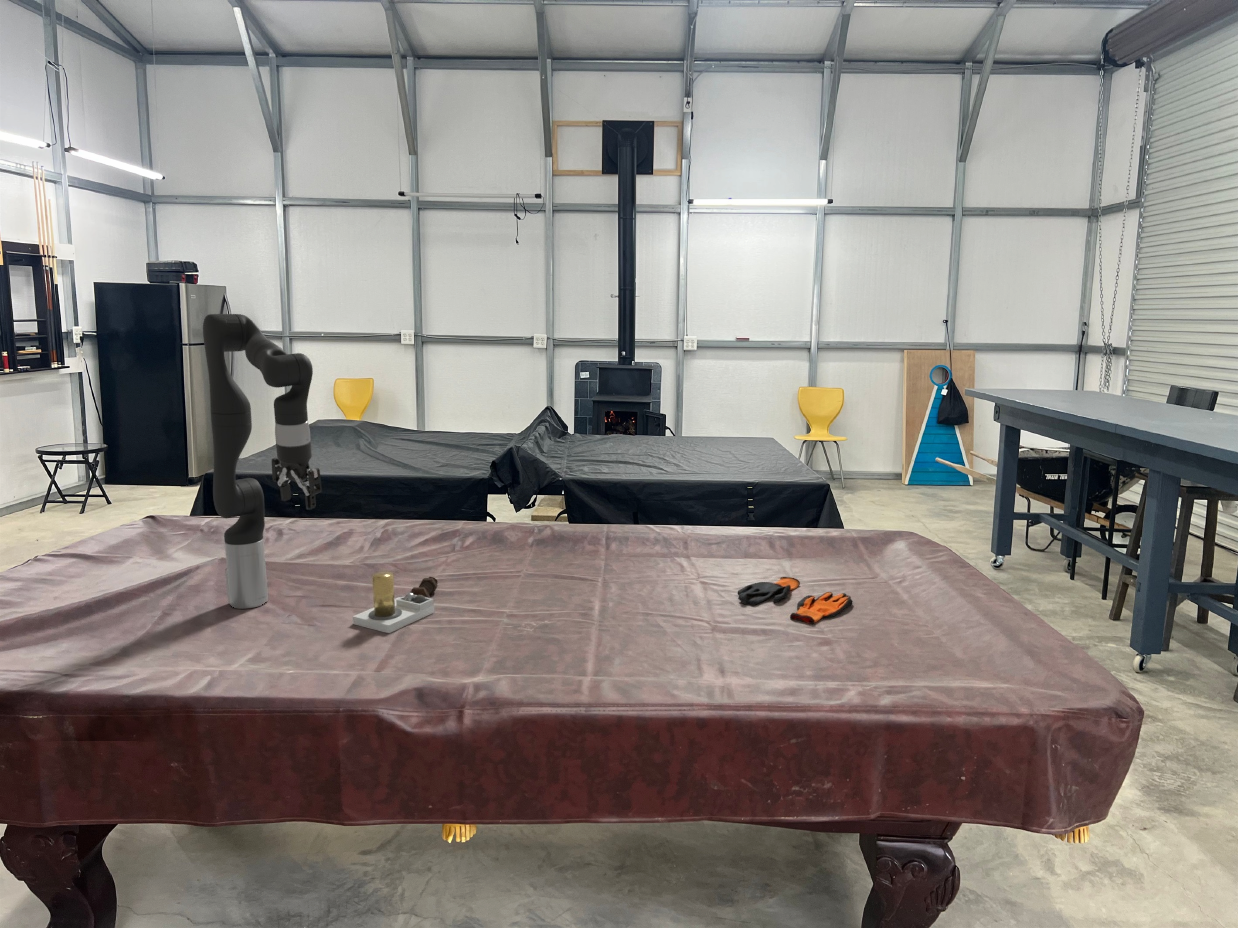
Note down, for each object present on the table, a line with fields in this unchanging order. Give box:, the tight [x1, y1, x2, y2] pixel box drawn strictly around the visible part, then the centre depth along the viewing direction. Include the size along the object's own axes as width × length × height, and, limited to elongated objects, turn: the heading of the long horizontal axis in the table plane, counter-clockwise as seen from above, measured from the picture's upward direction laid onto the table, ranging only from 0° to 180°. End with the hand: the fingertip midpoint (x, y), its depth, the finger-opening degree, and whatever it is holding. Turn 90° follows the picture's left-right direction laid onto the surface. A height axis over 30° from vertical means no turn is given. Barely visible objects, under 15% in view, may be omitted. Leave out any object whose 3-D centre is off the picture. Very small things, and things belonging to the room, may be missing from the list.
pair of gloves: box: [737, 576, 853, 625], centre depth 223 cm, size 27×24×3 cm
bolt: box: [409, 576, 439, 598], centre depth 225 cm, size 6×5×15 cm
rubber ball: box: [414, 595, 426, 604], centre depth 212 cm, size 3×3×3 cm
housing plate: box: [352, 595, 435, 634], centre depth 210 cm, size 12×16×4 cm
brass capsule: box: [371, 571, 395, 617], centre depth 206 cm, size 5×5×10 cm
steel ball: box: [404, 592, 416, 602], centre depth 214 cm, size 3×3×3 cm
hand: (298, 504), depth 198 cm, fingers open, 8 cm apart
